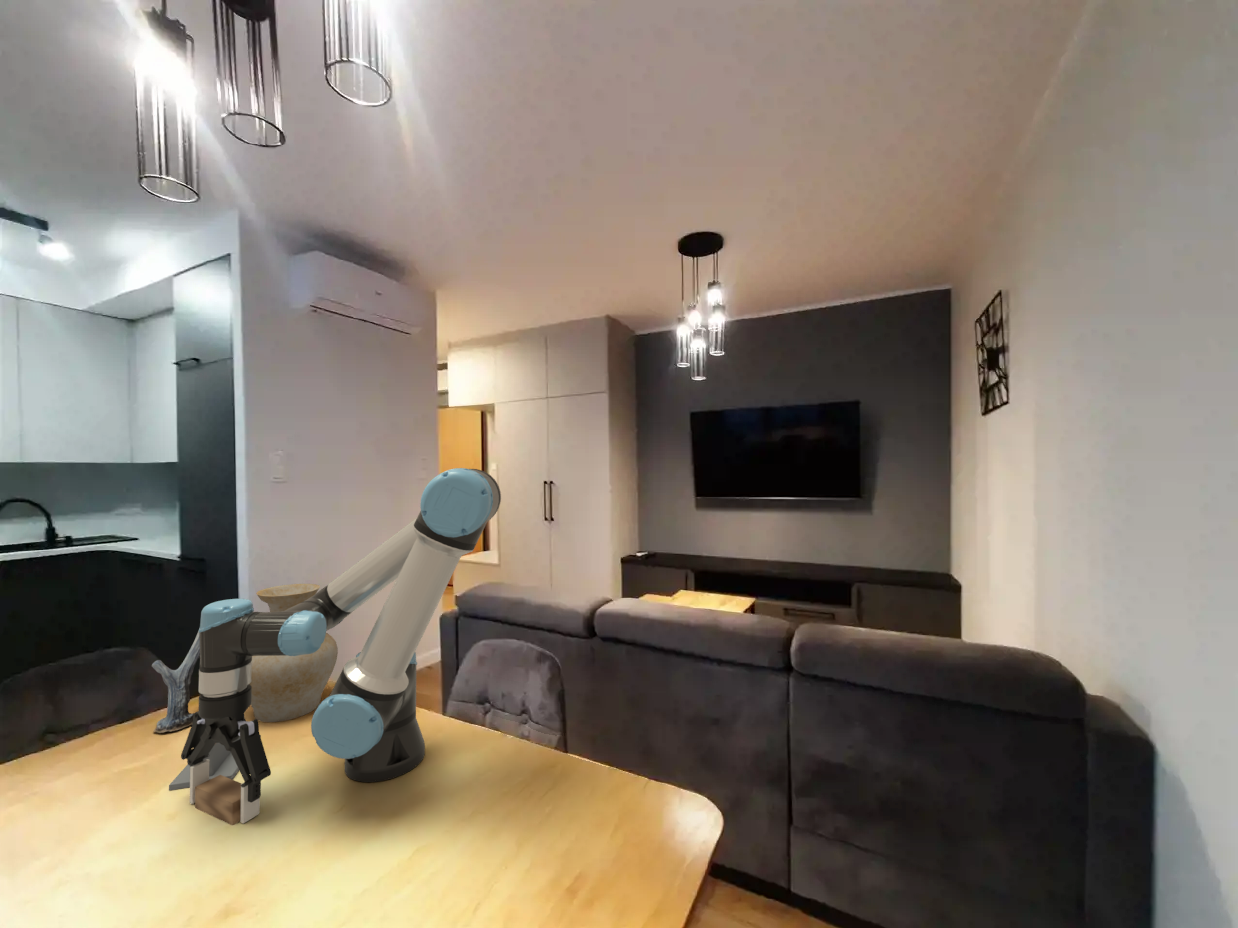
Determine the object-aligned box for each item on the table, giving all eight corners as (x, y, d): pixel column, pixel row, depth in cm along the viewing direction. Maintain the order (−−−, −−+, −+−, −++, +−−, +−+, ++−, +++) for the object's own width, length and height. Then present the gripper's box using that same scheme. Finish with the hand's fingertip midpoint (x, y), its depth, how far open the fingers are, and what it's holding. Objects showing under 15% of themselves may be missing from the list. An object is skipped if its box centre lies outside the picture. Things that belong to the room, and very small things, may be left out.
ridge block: (260, 739, 115) (261, 707, 115) (231, 780, 100) (232, 744, 100) (207, 746, 112) (207, 714, 112) (168, 790, 97) (169, 753, 97)
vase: (254, 695, 137) (254, 583, 138) (345, 685, 144) (345, 578, 144) (217, 736, 117) (218, 603, 117) (326, 722, 123) (327, 596, 123)
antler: (164, 737, 116) (165, 626, 116) (144, 730, 119) (145, 622, 119) (220, 714, 127) (221, 613, 127) (200, 709, 130) (201, 609, 130)
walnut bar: (257, 812, 91) (257, 789, 91) (232, 826, 88) (232, 803, 88) (219, 796, 96) (220, 774, 96) (195, 809, 92) (195, 786, 92)
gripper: (295, 691, 91) (293, 812, 91) (204, 670, 100) (202, 780, 100) (251, 710, 84) (249, 841, 84) (157, 685, 93) (155, 803, 93)
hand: (224, 808), depth 92 cm, fingers open, 13 cm apart
